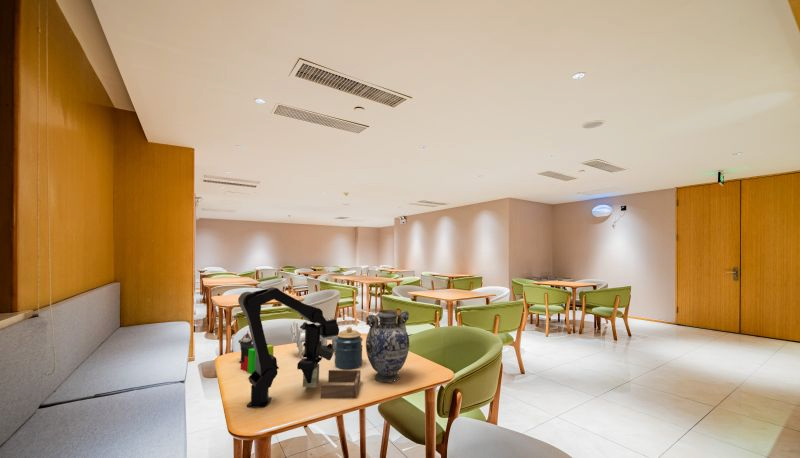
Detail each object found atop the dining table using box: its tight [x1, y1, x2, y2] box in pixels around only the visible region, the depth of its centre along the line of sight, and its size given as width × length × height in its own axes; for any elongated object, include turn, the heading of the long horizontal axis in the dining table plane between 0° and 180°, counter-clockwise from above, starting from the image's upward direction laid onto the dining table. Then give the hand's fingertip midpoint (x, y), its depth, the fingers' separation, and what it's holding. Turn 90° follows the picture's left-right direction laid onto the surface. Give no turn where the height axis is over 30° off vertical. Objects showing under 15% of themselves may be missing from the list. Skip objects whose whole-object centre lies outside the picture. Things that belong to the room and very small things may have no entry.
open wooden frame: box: [319, 369, 361, 399], centre depth 131 cm, size 16×13×4 cm
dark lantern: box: [238, 332, 253, 364], centre depth 162 cm, size 7×7×15 cm
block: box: [302, 363, 320, 388], centre depth 131 cm, size 5×5×7 cm
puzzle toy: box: [240, 342, 274, 375], centre depth 153 cm, size 10×10×10 cm
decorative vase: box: [365, 309, 410, 383], centre depth 144 cm, size 21×19×28 cm
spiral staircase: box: [289, 317, 341, 357], centre depth 177 cm, size 18×18×25 cm
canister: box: [334, 326, 363, 370], centre depth 159 cm, size 13×13×18 cm
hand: (311, 380), depth 131 cm, fingers closed on block, 5 cm apart
